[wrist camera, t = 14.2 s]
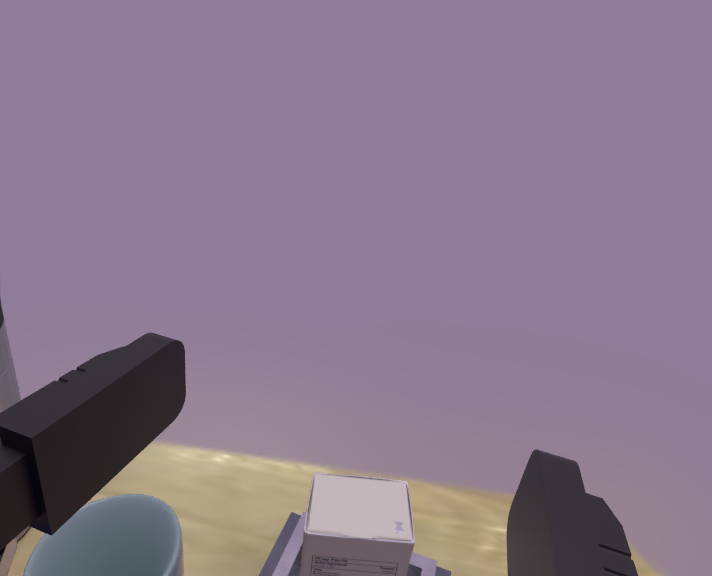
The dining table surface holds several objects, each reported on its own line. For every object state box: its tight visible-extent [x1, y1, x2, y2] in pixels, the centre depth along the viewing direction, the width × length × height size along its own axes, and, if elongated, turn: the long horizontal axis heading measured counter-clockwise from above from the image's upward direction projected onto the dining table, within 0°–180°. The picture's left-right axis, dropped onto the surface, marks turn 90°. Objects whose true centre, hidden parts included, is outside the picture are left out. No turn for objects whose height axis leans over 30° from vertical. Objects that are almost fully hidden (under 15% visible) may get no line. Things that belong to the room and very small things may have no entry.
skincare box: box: [300, 473, 415, 576], centre depth 28 cm, size 6×4×12 cm
